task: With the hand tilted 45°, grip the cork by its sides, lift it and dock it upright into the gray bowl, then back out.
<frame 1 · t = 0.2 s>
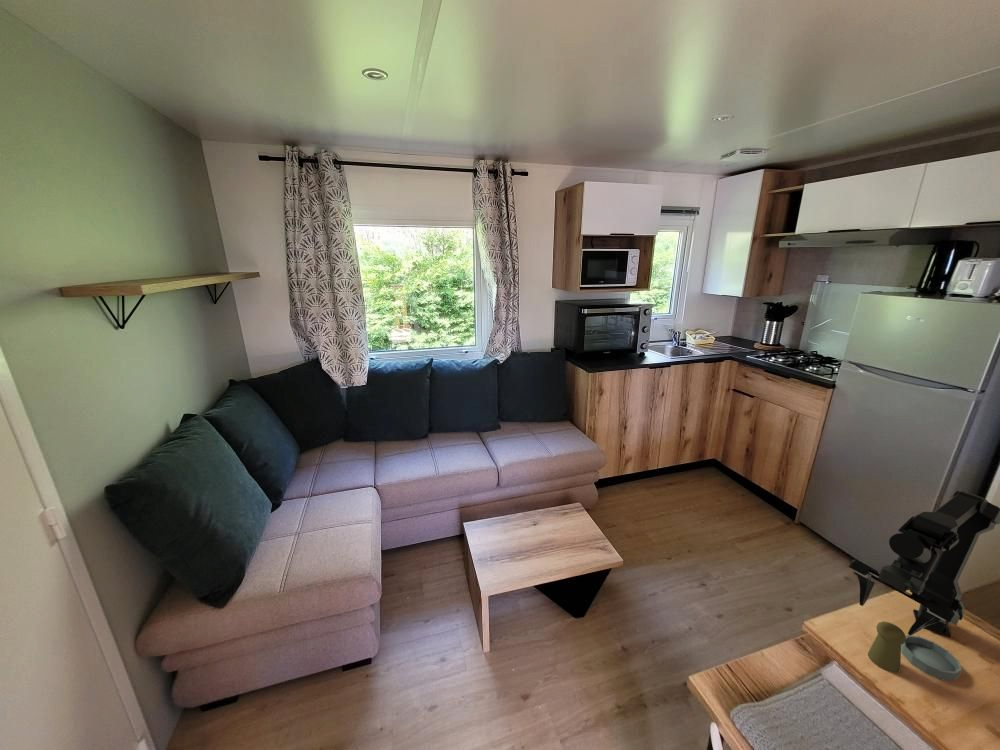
hand: (884, 619, 93), 15 cm above the table, tool tilted 35°, fingers open, 9 cm apart
cork: (883, 661, 98), on the table
gray bowl: (928, 660, 97), on the table
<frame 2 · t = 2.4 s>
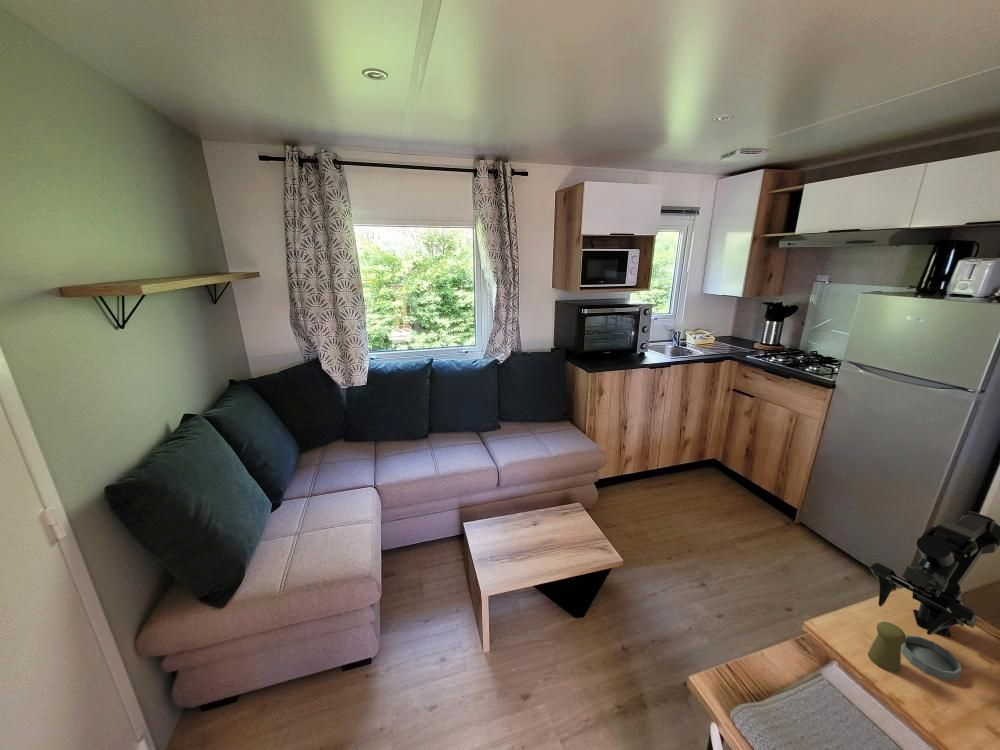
hand: (902, 619, 97), 11 cm above the table, tool tilted 45°, fingers open, 9 cm apart
nothing on the table moved.
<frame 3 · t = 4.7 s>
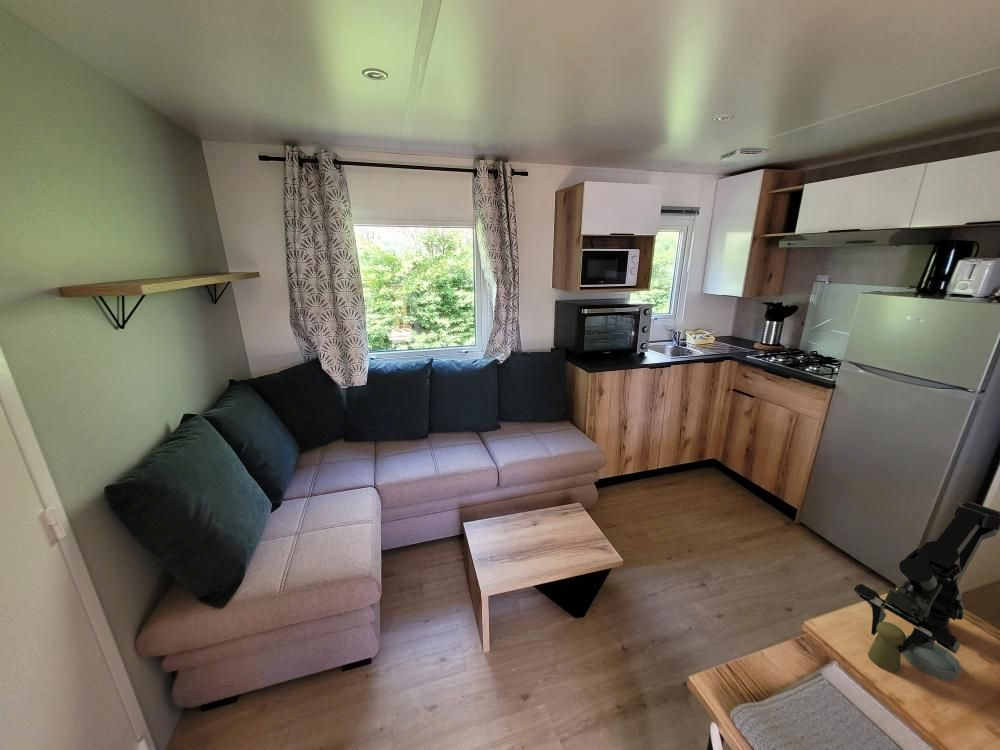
hand: (885, 643, 96), 7 cm above the table, tool tilted 45°, fingers closed on cork, 5 cm apart
cork: (883, 661, 98), on the table, touching gripper
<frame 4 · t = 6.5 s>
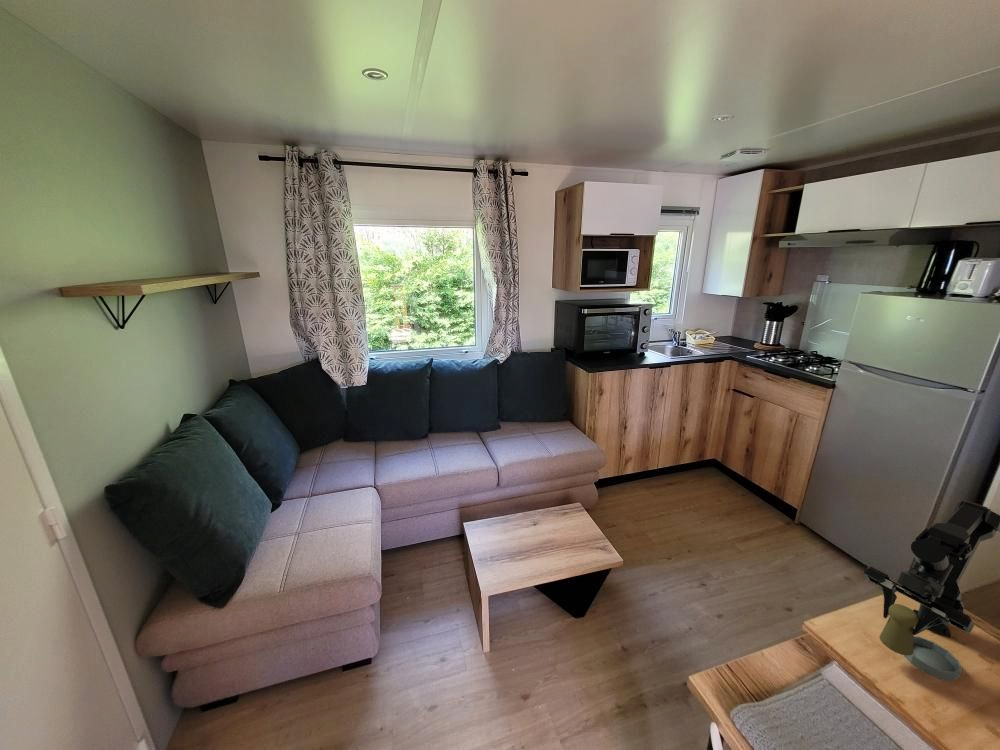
hand: (898, 625, 94), 12 cm above the table, tool tilted 45°, fingers closed on cork, 5 cm apart
cork: (895, 644, 96), point 6 cm above the table, touching gripper
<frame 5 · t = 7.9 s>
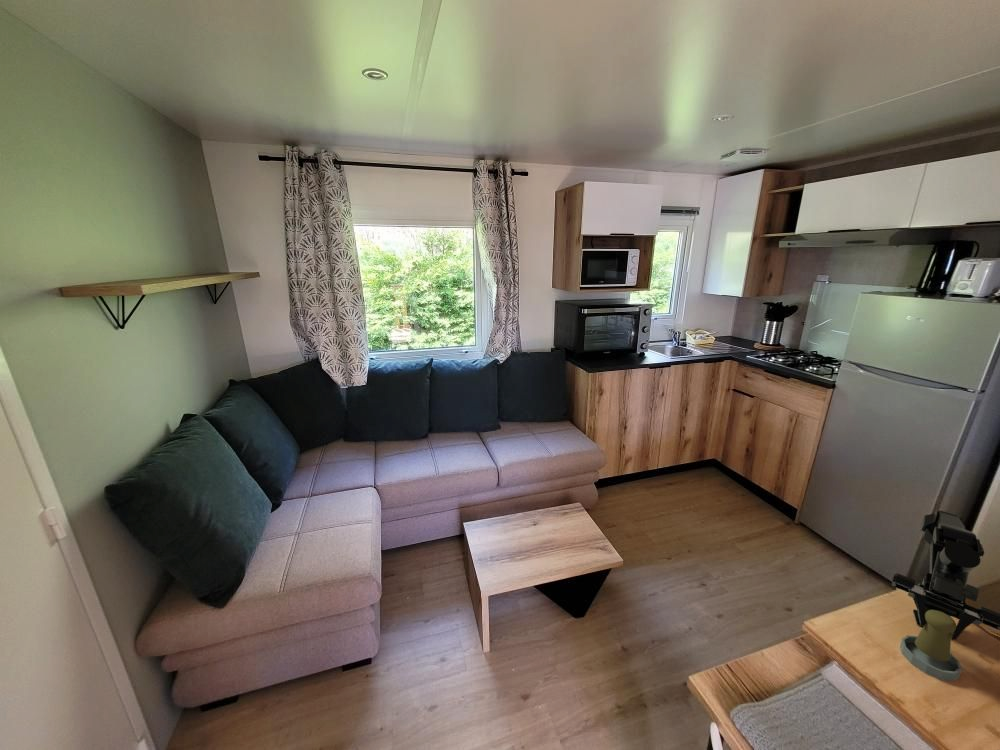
hand: (937, 632, 94), 10 cm above the table, tool tilted 45°, fingers closed on cork, 5 cm apart
cork: (931, 650, 97), point 3 cm above the table, touching gripper
when the fingers open (8 cm above the table, at t = 8.6 s): cork drops 1 cm, resting on gray bowl.
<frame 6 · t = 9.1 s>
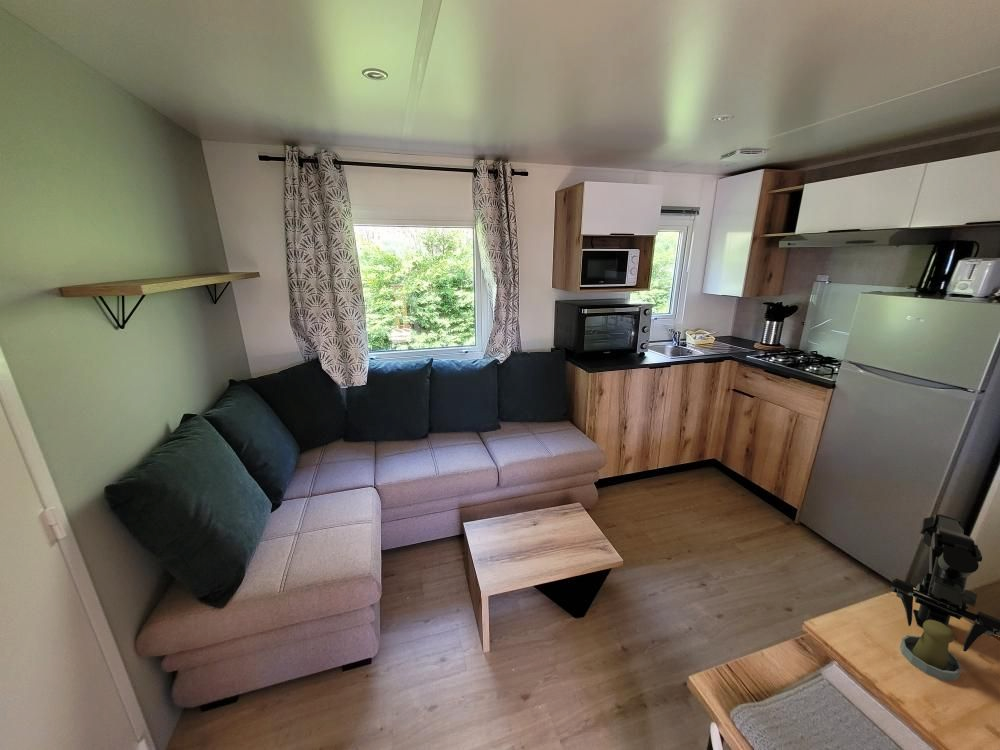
hand: (935, 637, 94), 9 cm above the table, tool tilted 45°, fingers open, 9 cm apart
cork: (928, 659, 97), resting on gray bowl
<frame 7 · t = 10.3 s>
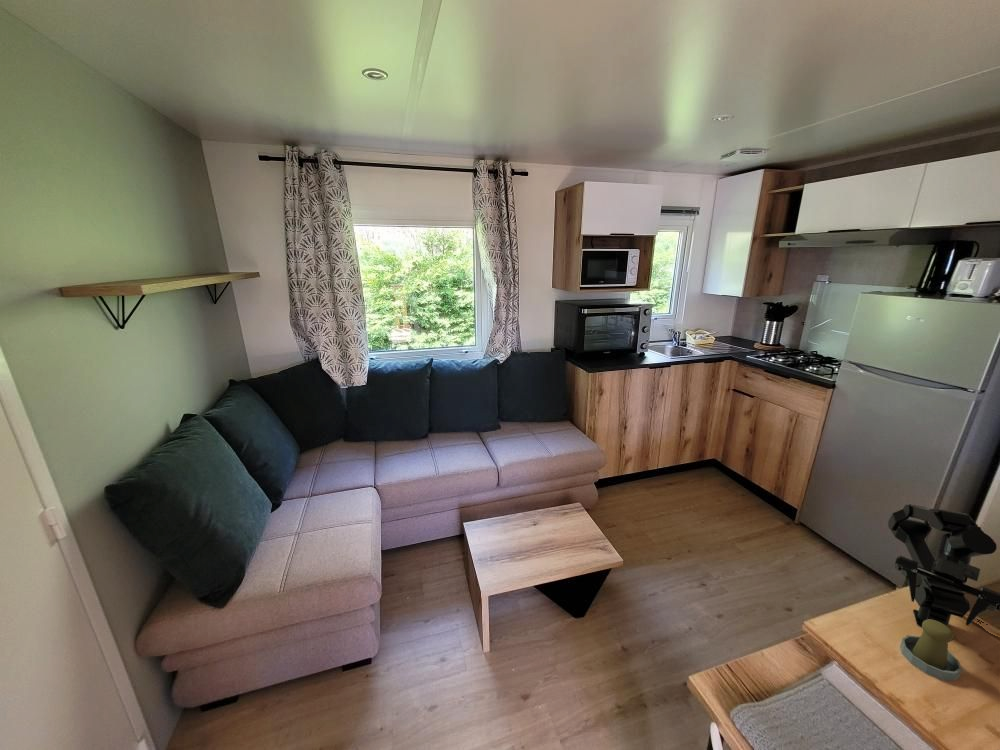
hand: (938, 612, 96), 13 cm above the table, tool tilted 45°, fingers open, 9 cm apart
nothing on the table moved.
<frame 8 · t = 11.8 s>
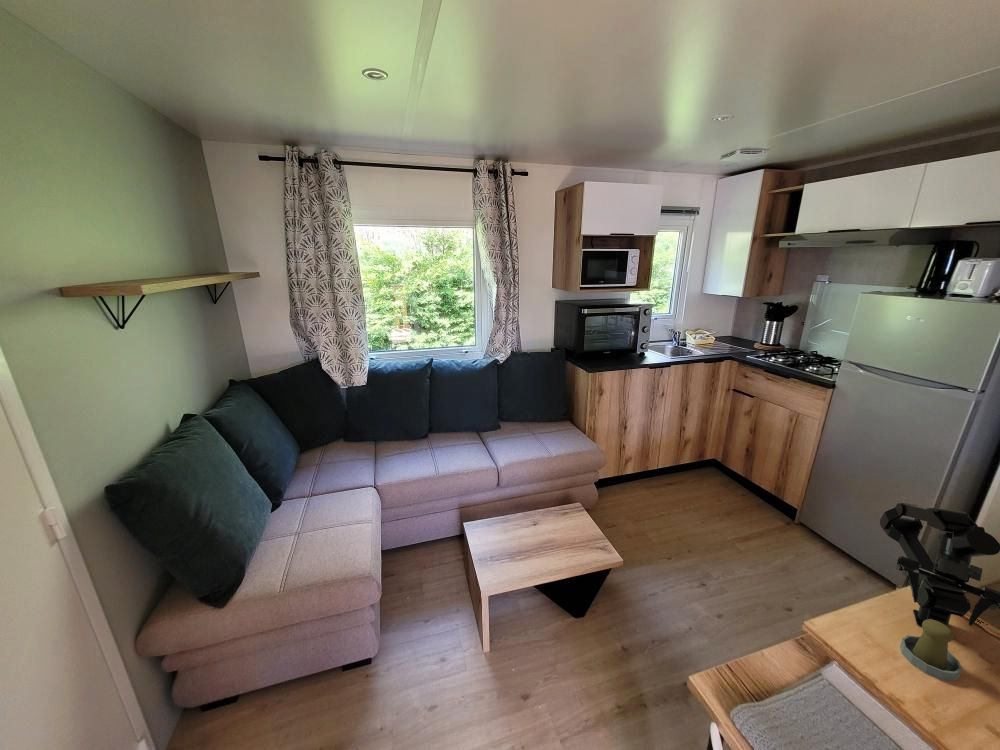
hand: (941, 613, 96), 14 cm above the table, tool tilted 45°, fingers open, 9 cm apart
nothing on the table moved.
at the end: cork 0.2 cm off-centre on the gray bowl, point 0.2 cm above the gray bowl's base; cork tilted 0°; the gripper is holding nothing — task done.
